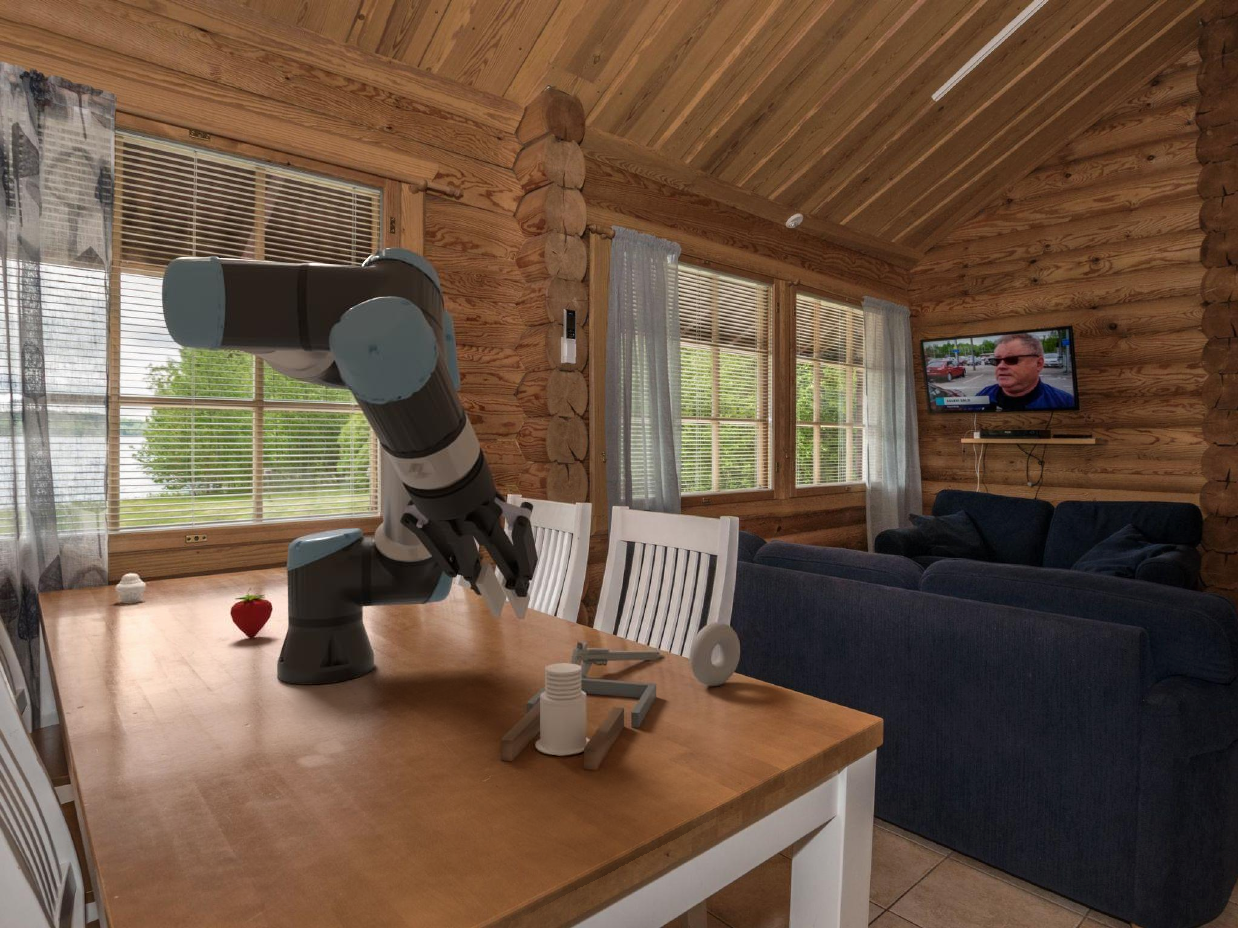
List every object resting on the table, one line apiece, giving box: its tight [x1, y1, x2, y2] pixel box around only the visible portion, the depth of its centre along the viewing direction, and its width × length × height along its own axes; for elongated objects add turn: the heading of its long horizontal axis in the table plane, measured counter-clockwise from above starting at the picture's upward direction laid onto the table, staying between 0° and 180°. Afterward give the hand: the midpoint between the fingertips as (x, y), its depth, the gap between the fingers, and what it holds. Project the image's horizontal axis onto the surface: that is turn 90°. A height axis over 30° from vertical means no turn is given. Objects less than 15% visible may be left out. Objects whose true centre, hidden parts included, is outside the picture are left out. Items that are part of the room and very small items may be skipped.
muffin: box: [114, 572, 147, 604], centre depth 180 cm, size 6×6×7 cm
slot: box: [500, 701, 625, 771], centre depth 97 cm, size 12×14×2 cm
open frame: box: [525, 677, 657, 729], centre depth 110 cm, size 16×12×2 cm
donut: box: [689, 621, 741, 687], centre depth 119 cm, size 10×4×10 cm, turn 129°
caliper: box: [570, 641, 665, 678], centre depth 128 cm, size 20×1×6 cm, turn 132°
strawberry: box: [230, 587, 273, 639], centre depth 148 cm, size 6×8×10 cm
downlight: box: [535, 662, 590, 757], centre depth 96 cm, size 8×7×10 cm
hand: (511, 607), depth 84 cm, fingers open, 2 cm apart
